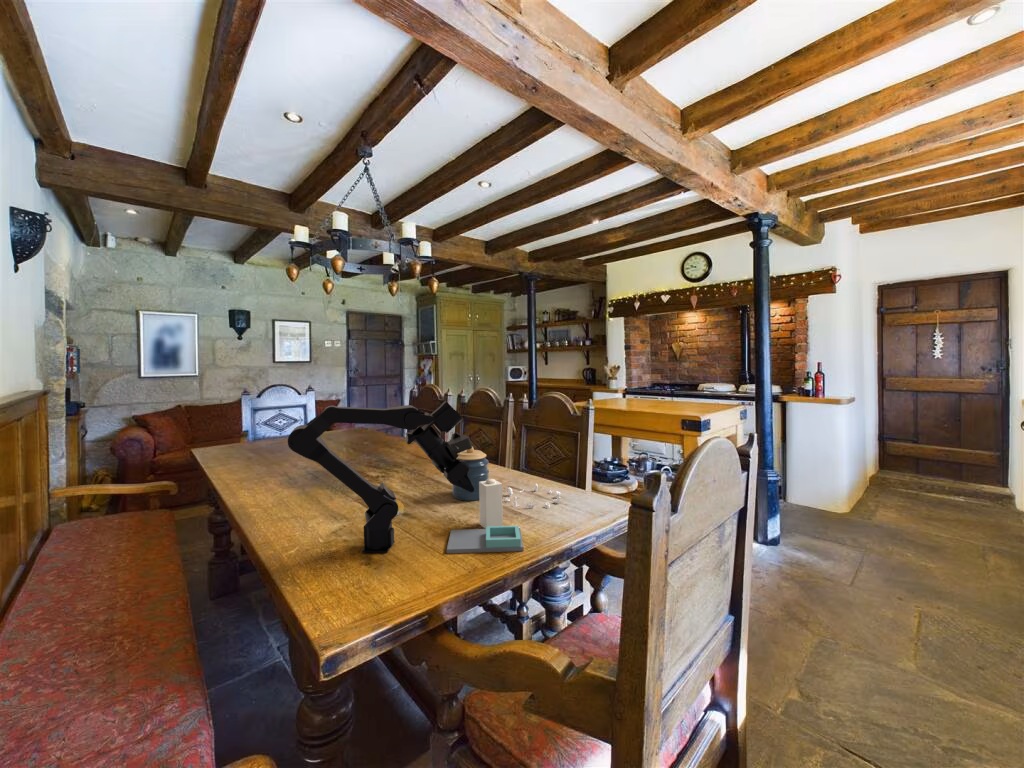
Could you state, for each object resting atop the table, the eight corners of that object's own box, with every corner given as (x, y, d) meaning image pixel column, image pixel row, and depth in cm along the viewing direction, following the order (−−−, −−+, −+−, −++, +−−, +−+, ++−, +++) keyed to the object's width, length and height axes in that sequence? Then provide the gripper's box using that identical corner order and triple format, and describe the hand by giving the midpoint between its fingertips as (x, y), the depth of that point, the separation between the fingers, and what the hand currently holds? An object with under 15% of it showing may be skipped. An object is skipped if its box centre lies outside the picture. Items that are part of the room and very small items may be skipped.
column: (486, 530, 119) (486, 483, 118) (479, 524, 124) (479, 479, 123) (502, 526, 121) (502, 481, 121) (495, 521, 126) (494, 476, 125)
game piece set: (492, 501, 145) (492, 489, 145) (532, 488, 159) (532, 477, 159) (535, 515, 131) (535, 503, 131) (574, 499, 145) (574, 488, 145)
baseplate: (446, 553, 105) (446, 541, 105) (451, 533, 117) (451, 522, 117) (523, 551, 106) (523, 539, 106) (520, 531, 118) (520, 520, 118)
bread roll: (404, 506, 139) (403, 494, 139) (403, 516, 130) (403, 504, 130) (377, 509, 137) (377, 496, 137) (375, 519, 129) (374, 506, 128)
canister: (445, 498, 146) (444, 448, 145) (463, 488, 158) (462, 441, 157) (478, 503, 141) (478, 450, 140) (495, 492, 153) (494, 443, 152)
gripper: (466, 430, 106) (502, 474, 110) (447, 420, 123) (479, 459, 128) (431, 460, 103) (469, 505, 107) (417, 446, 120) (451, 485, 125)
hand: (468, 486), depth 117 cm, fingers open, 9 cm apart
